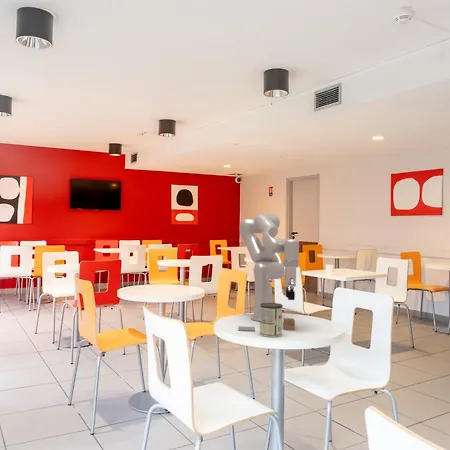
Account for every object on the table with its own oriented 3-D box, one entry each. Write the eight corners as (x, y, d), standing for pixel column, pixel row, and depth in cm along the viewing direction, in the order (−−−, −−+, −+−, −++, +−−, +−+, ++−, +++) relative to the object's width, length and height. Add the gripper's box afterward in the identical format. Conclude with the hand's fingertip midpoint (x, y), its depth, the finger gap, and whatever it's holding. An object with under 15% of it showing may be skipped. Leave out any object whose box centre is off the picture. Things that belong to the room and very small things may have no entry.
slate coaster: (238, 327, 222) (238, 326, 222) (254, 328, 222) (254, 326, 222) (238, 330, 214) (238, 329, 214) (255, 331, 214) (255, 330, 214)
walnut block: (283, 328, 224) (283, 318, 225) (293, 328, 224) (293, 318, 224) (284, 330, 219) (284, 320, 220) (294, 330, 219) (294, 320, 219)
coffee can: (261, 331, 214) (262, 302, 214) (282, 333, 212) (283, 303, 212) (257, 336, 204) (258, 305, 204) (280, 338, 202) (281, 306, 202)
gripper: (281, 263, 231) (281, 296, 231) (285, 264, 214) (284, 300, 213) (296, 263, 231) (295, 296, 230) (300, 265, 214) (300, 301, 213)
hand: (290, 298), depth 222 cm, fingers open, 9 cm apart
